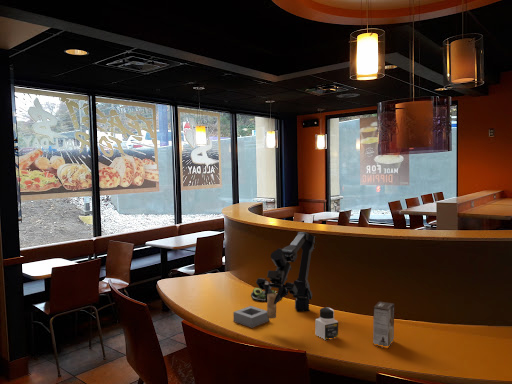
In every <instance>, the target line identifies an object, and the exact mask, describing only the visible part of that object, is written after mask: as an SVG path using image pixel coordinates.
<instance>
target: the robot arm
mask: <svg viewBox="0 0 512 384" xmlns="http://www.w3.org/2000/svg"><path fill="white" fill-rule="evenodd" d="M313 235H314V234H310V233H308V232H305V231H298V232H297V234H296V236H295V238H293V240H292V241H291V242H290V244H289V245H287V246H283V248H280V247H278V248H277V249H276V250H274V251H272V252H271V253H270V258H271V260H272V262H273V264H274V266H276V269H275V270H269V269H268V271H267V274H266V278H267V279H269V281H270V282H269V281H268V280H267V279H266V278H263V277H259V278H257V279H256V281H255V283H256V285H257V286H258V288H260V289H261V290H263V291H265V302H264V303H267V294H269V293H272V290H273V289H274V288H275V289H277V292H278V293H277V296H276V298H275V301H274V304H276V305H277V303H279V302H280V301H281V300H282V299H283V298H285V297H286V296H289V294H290V295H292V297H293V298H295V300H294V309H295V310H296V312H311V311H310V300H312V298H313V292H312V291H311V289H310V286H311V285H310V283H309V280H308V278H309V271H310V263H311V257H312V252H313V251H314V250H315V248H314V244H315V237H316V235H315V236H313ZM300 249H301V250H302V251H301V256H300V257H301V258H300V263H299V270H298V277H297V279H296V280H294V281H293V282H288V274H289V272H290V271H292V265H291V263H294V262H295V261H297V258H298V251H300ZM313 249H314V250H313ZM286 281H287V282H286ZM272 288H273V289H272Z"/></svg>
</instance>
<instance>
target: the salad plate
mask: <svg viewBox="0 0 512 384" xmlns="http://www.w3.org/2000/svg"><path fill="white" fill-rule="evenodd" d="M271 290H272V293H275V294H276V296H277V293H276V292H277V290H274V289H271ZM250 296H251V299H252V300H253V301H254V302H264V303H266V302H265V290H263V289H260V288H259V287H255V288H253V290H252V292H251V293H250Z"/></svg>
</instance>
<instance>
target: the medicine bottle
mask: <svg viewBox="0 0 512 384" xmlns="http://www.w3.org/2000/svg"><path fill="white" fill-rule="evenodd" d="M314 326H315V327H314V328H315V330H314V331H315V333H314V334H315V336H317V337H318V336H319V338H320V337H321V338H320V339H322V338H323V339H324V340H323V339H322V340H323V341H325V340H326V339H329V338H334V337H338V338H339V321H338V320H336V319H335V309H333V308H331V307H323V308H320V309H319V317H318V318H315V325H314ZM334 339H335V338H334ZM326 341H327V340H326Z"/></svg>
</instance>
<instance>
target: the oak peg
mask: <svg viewBox="0 0 512 384" xmlns="http://www.w3.org/2000/svg"><path fill="white" fill-rule="evenodd" d="M275 298H276V294H275V293H269V294H267V305H266V311H267V317H268V318H269V319H276V318H277V303H276V304H274V301H275Z"/></svg>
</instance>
